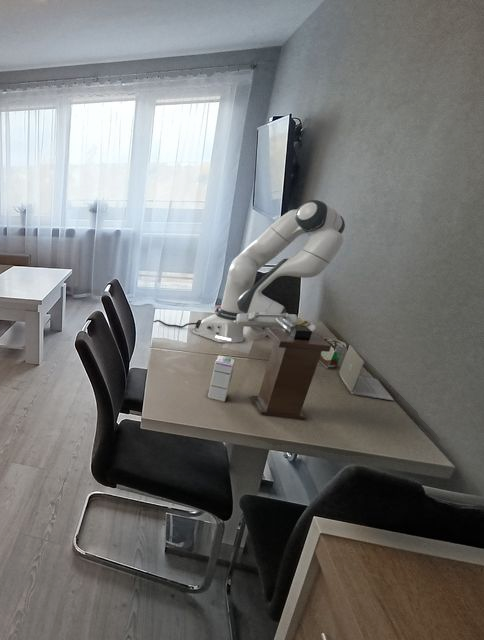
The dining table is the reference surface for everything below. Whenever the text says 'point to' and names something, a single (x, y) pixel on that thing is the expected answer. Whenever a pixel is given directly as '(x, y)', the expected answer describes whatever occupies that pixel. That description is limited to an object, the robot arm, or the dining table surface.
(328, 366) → the food container
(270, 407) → the stand
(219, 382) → the syrup box
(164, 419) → the dining table surface
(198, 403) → the dining table surface
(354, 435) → the dining table surface
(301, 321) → the bowl
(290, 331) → the twin chrome rods
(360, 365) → the laptop
